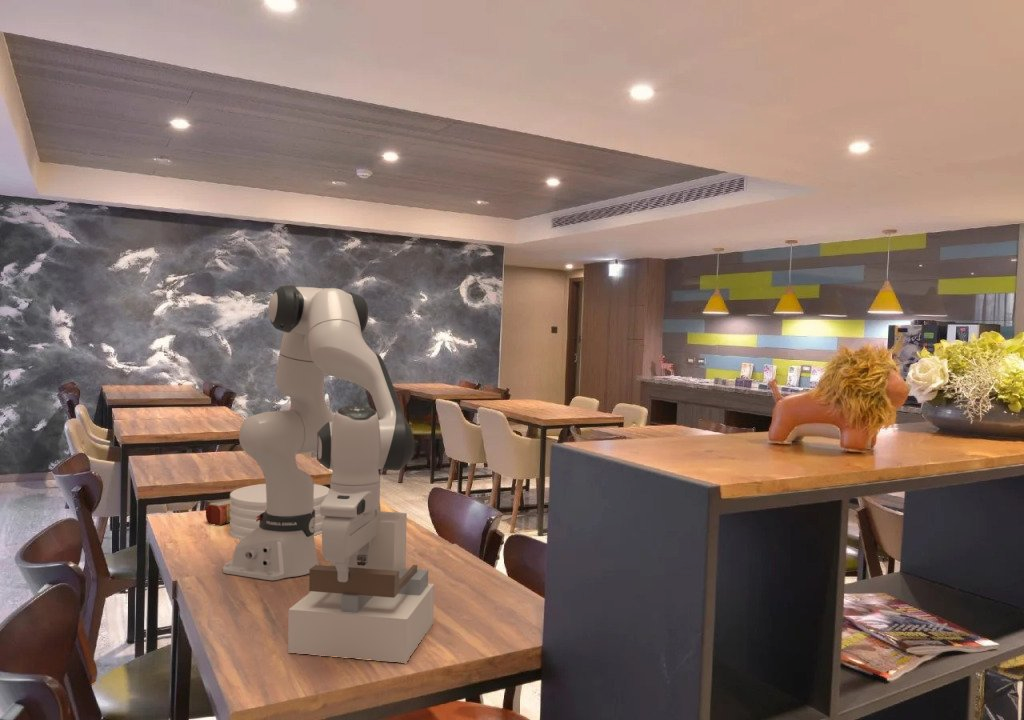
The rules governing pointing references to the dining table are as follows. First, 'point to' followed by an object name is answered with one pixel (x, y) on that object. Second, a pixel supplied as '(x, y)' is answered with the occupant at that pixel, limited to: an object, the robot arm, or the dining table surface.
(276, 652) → the dining table surface
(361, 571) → the glasses frame
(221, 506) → the snack package
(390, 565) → the pillar on square base
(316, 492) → the plate stack
